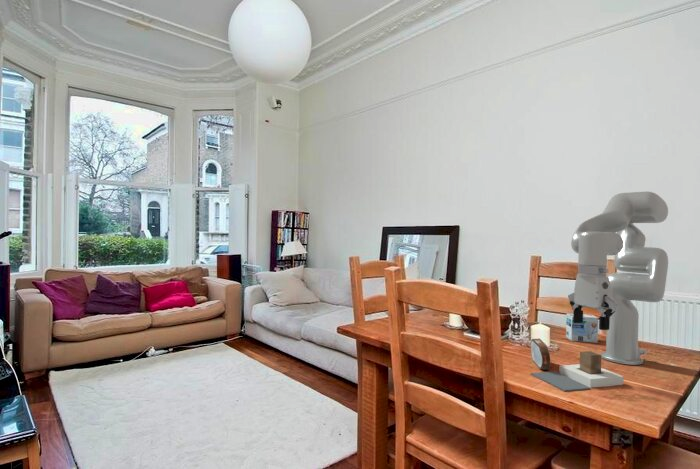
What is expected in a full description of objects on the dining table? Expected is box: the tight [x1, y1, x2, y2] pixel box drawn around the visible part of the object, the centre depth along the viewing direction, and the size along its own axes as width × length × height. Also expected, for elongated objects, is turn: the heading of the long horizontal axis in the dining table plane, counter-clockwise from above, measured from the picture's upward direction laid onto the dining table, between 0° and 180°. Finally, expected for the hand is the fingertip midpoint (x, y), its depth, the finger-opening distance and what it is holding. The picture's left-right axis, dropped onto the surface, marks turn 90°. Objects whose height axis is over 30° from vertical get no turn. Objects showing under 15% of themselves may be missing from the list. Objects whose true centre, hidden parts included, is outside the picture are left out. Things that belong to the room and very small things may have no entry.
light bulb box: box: [565, 312, 599, 344], centre depth 169 cm, size 11×7×11 cm, turn 81°
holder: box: [558, 363, 624, 389], centre depth 122 cm, size 12×12×2 cm
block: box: [579, 350, 602, 375], centre depth 122 cm, size 4×4×8 cm
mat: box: [530, 370, 591, 393], centre depth 119 cm, size 9×14×1 cm, turn 14°
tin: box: [530, 338, 551, 371], centre depth 134 cm, size 15×3×8 cm, turn 168°
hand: (590, 326), depth 121 cm, fingers open, 9 cm apart
